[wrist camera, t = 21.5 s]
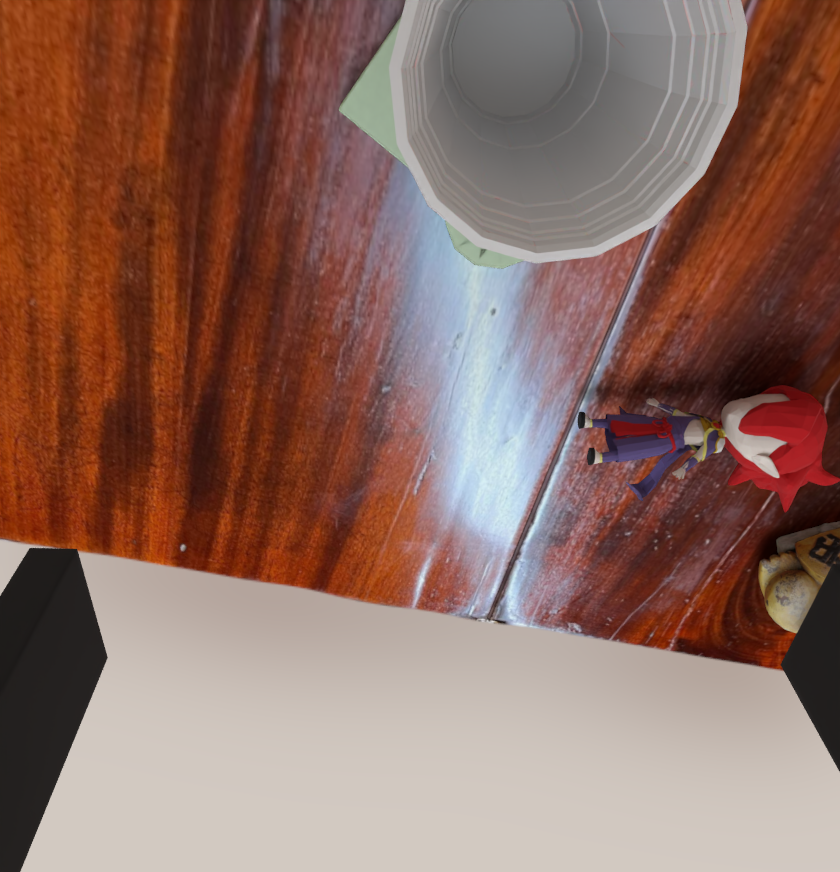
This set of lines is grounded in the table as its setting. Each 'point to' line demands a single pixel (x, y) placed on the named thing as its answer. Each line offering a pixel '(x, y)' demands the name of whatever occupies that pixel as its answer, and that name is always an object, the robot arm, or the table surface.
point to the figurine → (727, 440)
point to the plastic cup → (562, 114)
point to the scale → (376, 118)
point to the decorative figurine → (798, 572)
